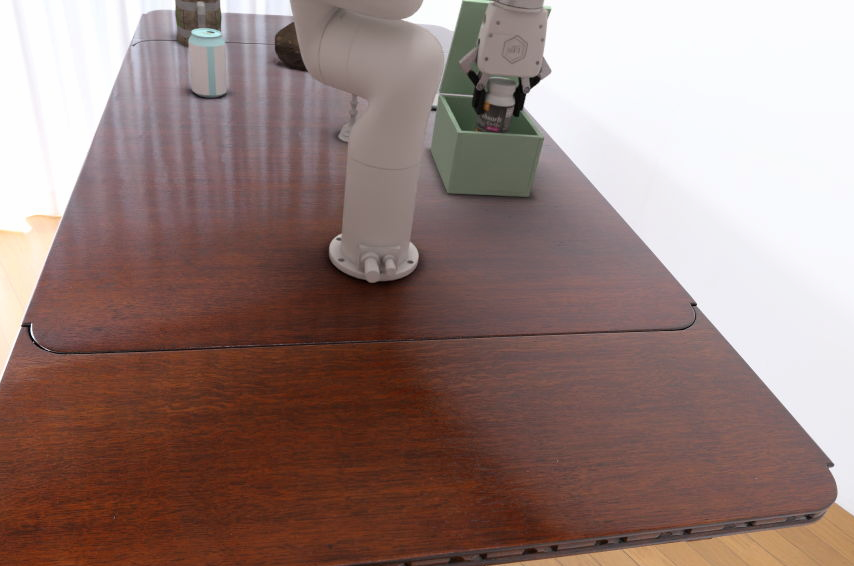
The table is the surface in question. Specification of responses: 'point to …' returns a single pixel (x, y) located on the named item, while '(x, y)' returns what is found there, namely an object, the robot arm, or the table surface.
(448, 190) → the dish box
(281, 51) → the dark brown bone
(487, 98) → the pill bottle
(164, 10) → the table surface
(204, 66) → the can
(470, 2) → the lid
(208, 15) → the mug
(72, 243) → the table surface
